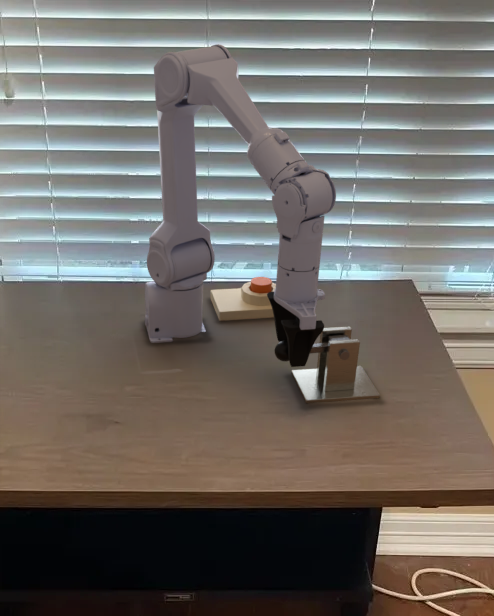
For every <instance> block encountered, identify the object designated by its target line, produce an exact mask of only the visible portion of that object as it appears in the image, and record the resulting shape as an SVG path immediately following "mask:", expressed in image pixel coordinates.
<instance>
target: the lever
mask: <svg viewBox="0 0 494 616" xmlns="http://www.w3.org/2000/svg"><path fill="white" fill-rule="evenodd" d="M335 340H350V339H349V337H348V336H347V335H337V336H328V341H335ZM327 350H328V343H314V344H313V347H312V349H311V352H310V354H318V353H320V352H327ZM274 355H275V357H276V359H277V360H279V361H281V362H289V355H288V342H287V341H281V342H279V341H278V343H277V344H276V345H275V347H274Z"/></svg>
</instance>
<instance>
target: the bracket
mask: <svg viewBox="0 0 494 616" xmlns="http://www.w3.org/2000/svg"><path fill="white" fill-rule="evenodd" d="M352 331H353V329H352V327H351V326H336V327H324V330H323V331H322V333H321V334H320V335H319V343H328V350H327V352H320V353H317V363H316V368H303V369H292V370H291V373H290V374H291V376H292V378H293V380H294V382H295V384H296V386H297V388H298V390H299V392H300V394H301V396H302V399H303V400H304V402H305V404H316V403H317V404H319V403H320V404H321V403H332V402H345V401H346V402H347V401H358V400H372V399H373V400H374V399H380V396H381V395H380V392H379V391H378V389H377V388H376V386H375V385H374V383H373V382H372V380H371V379H370V377H369V375H368V374H367V372H366V371H365V369H364V368H363V366H362V365H358V363H359V362H358V360H359V353H360V346H361V341H360V340H359V338H353V339H352ZM337 335H347V336H348V337H349V339H350V340H335V341H328V336H337Z"/></svg>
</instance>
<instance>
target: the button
mask: <svg viewBox="0 0 494 616" xmlns="http://www.w3.org/2000/svg"><path fill="white" fill-rule="evenodd" d="M250 282H251V289H250V290H251V291H252V292H254V293H269V292H271V289H272V283H273V280H272V279H271V278H269V277H265V276H256V277H252V278H251V280H250Z"/></svg>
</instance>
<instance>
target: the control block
mask: <svg viewBox="0 0 494 616" xmlns="http://www.w3.org/2000/svg"><path fill="white" fill-rule="evenodd" d="M275 287H276V282H275V283H274V282H272V289H271V292H274V291H275ZM250 289H251V281H247V282H245V283H244V284H243V285H242V286H241V287H238V288H219V289H210V294H209V295H210V296H209V298H210V301H211V303H212V306H213V308H214V311H215V313H216V316H217V319H218V321H220V322H224V321H238V320H254V319H256V320H257V319H272V318H273V319H274V314H273V310H272V307H271V304H270V301H269V299H268V297H267V293H254V292H252V291H251V290H250Z"/></svg>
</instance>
